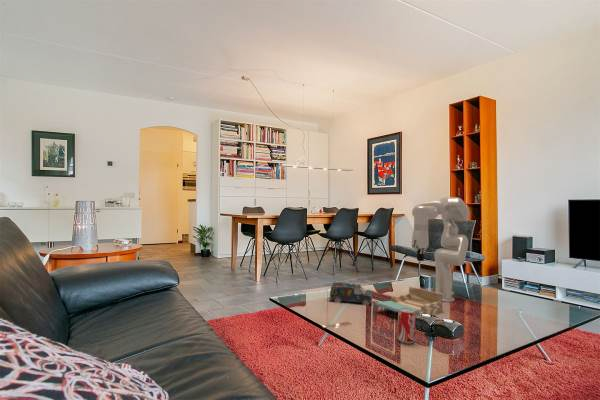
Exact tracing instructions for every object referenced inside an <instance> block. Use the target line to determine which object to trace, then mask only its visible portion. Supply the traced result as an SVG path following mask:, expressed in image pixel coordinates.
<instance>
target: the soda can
mask: <svg viewBox="0 0 600 400" xmlns="http://www.w3.org/2000/svg"><path fill="white" fill-rule="evenodd" d="M399 310H400V311H399V312H397V313H398V314H397V337H396V339H398V341H399V342H401V343H403V344H406V345H408V344H409V345H410V344H413V343H414V342H415V341H416V320H417V317H416V314H415V311H414V310H413V309H409V308H400V309H399Z"/></svg>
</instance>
